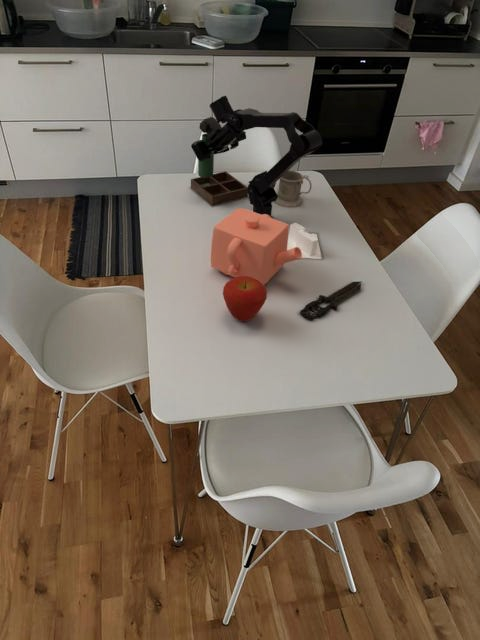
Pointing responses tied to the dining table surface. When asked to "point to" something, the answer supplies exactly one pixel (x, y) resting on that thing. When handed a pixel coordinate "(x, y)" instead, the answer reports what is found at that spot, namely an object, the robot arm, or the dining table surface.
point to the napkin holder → (303, 242)
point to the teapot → (251, 245)
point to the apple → (244, 297)
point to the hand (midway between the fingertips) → (203, 156)
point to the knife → (326, 299)
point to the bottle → (206, 162)
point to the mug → (291, 189)
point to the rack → (219, 188)
